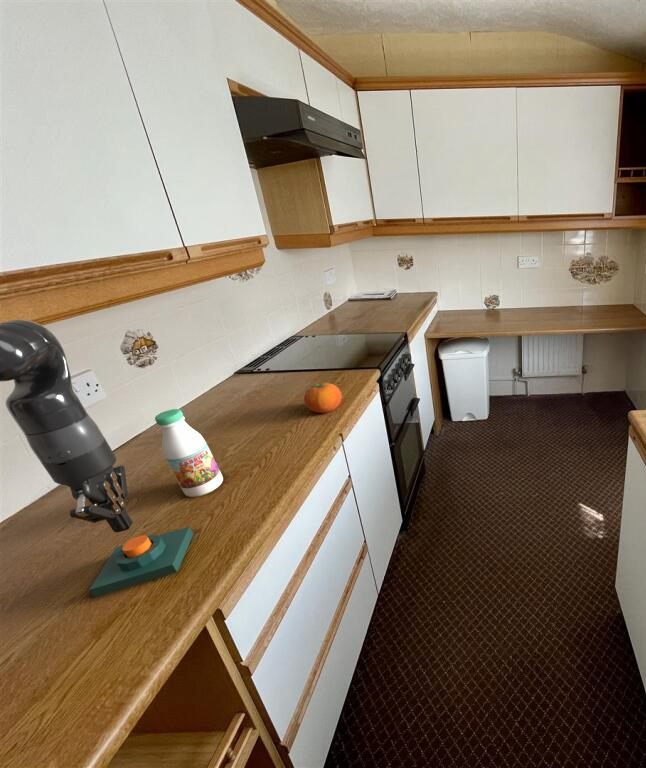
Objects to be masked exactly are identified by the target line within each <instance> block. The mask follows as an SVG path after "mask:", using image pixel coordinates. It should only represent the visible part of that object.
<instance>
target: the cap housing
mask: <svg viewBox="0 0 646 768" xmlns="http://www.w3.org/2000/svg"><path fill="white" fill-rule="evenodd" d="M146 536H147V537H148V539H149V540H150V542H151V543H152V546H151V548H149V549H148V550H147V551H146V552H144V553H142V554H141V555H139V556H136V557H133V558H128V557H127V556H126V554H125V553H124V551H123V550H122V547H123V546H124V544H123V545H119V546H115V548H114V549H113V550H112V552H111V554H110V556H109V557H108V559H107V560H106V562H105V564H104V565H103V567H102V569H101V570H100V572H99V573H98V575H97V576H96V578H95V580H94V581H93V583H92V584H91V586H90V587H89V589H88V591H89V592H90V594H92V596H93V597H94V598H98V597H101V596H105V595H107V594H111V593H113V592H114V593H115V592H117V591H121V590H123V589H127V588H130V587H134V586H137V585H140V584H143V583H147V582H150V581H153V580H156V579H159V578H160V579H161V578H163V577H166V576H170V575H172V574H176V573H178V572H179V568H180V567H181V565H182V562H183V560H184V557H185V555H186V553H187V550H188V548H189V546H190V543H191V541H192V538H193V536H194V532H193V531H192V529H191V527H190V526H186V527H182V528H179V529H176V530H173V531H169V532H166V533H165V532H164V533H161V534H149V535H146Z"/></svg>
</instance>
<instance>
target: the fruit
mask: <svg viewBox="0 0 646 768" xmlns="http://www.w3.org/2000/svg"><path fill="white" fill-rule="evenodd" d="M342 399H343V395H342V392H341V390H340V388H339V387H338V386H337V385H335V384H333V383H331V382H324V383H317V384H314V385H312V386H310V387H309V388H308V390H307V389H306V392H305V393H304V395H303V400H304V404H305V406H306V407H307V408H308V410H309V411H311V412H313V413H317V414H327V413H330V412H332V411H334V410H335V409H337V408H338V407H339V406H340V404H341V402H342Z"/></svg>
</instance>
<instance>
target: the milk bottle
mask: <svg viewBox="0 0 646 768" xmlns="http://www.w3.org/2000/svg"><path fill="white" fill-rule="evenodd" d="M154 420H155V422H156V424H157V425H158V428H160V429H161V431H162V439H161V440H162V441H161V450H162V454H163V456H164V458H165V460H166V462H167V464H168V466H169V468H170V470H171V472H172V474H173V476H174V478H175V479H176V481H177V483H178V485H179V487H180V489H181V491H182V492H183V494H184V495H185V496H186V497H189V498H196V497H200V496H201V497H202V496H203V495H204V496H205V495H206V494H209V493H211V492H213V491H214V490H216V489H217V488H219V487H220V485H222V483H223V482H224V477H223V475H222V472H221V470H220V468H219V465H218V464H217V462H216V460H215V458H214V455H213V453H212V452H211V449H210V448H209V445H208V443H207V441H206V440H205V438H204V437H203V435H202V434H201V433H200V432H198V431H197V430H195V429H194V428H193V427H192V426H190V425H189V424H188V423H187V422H186V421H185V420H186V419H185V416H184V413H183V412H182V410H181V409H179V408H173V409H167V410H165V411H163V412H160V413H158V414H157V415H155V417H154Z"/></svg>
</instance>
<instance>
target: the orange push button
mask: <svg viewBox="0 0 646 768" xmlns="http://www.w3.org/2000/svg"><path fill="white" fill-rule="evenodd" d="M147 536H148V535H138V536H135V537H133V538H131V539H129V540H128V541H126V542H125V543H124V544H123V545H124V546H123V547H122V550H123V551H124V553H125V554H126V556H127V557H128V558H133V557H136V556H139V555H141V554H142V553H144V552H146V551H147V550H148V549H149V548H151V546H152V543H151V542H150V540H149V539H148V537H147Z"/></svg>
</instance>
